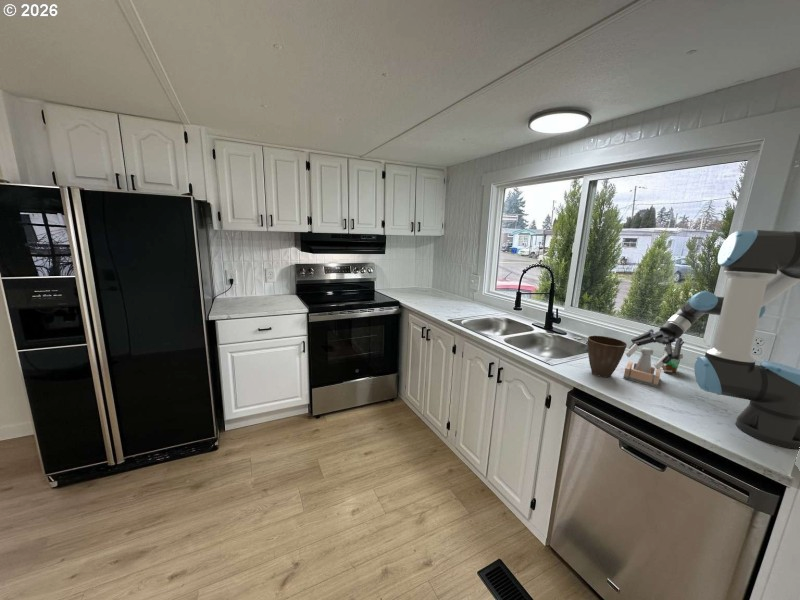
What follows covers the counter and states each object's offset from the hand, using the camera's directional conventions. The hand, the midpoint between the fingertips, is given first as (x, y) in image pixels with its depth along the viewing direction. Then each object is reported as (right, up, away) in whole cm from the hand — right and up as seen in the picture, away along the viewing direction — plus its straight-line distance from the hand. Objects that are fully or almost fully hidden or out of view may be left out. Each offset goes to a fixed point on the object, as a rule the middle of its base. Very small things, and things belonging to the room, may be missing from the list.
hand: (640, 361), depth 141 cm
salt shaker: (+2, -7, +2) cm, 8 cm away
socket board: (+2, -8, +2) cm, 9 cm away
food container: (+24, -7, +12) cm, 28 cm away
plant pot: (-15, -7, +5) cm, 17 cm away
